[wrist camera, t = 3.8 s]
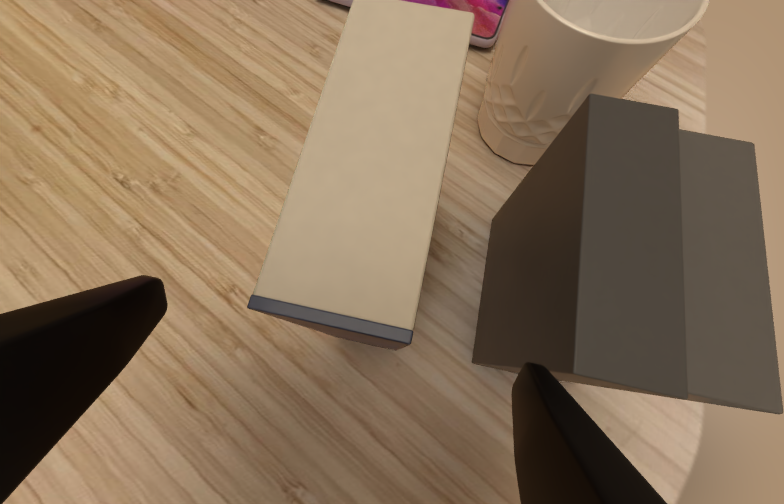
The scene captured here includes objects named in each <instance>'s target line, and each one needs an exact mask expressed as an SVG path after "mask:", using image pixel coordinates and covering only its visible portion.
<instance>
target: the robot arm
mask: <svg viewBox="0 0 784 504" xmlns="http://www.w3.org/2000/svg"><path fill="white" fill-rule="evenodd" d="M166 311H167V299H166V294H165V289H164V284H163V282H162V281H161V279H159V278H155V277H151V276H146V275H141V276H137V277H134V278H130V279H126V280H123V281H119V282H116V283H112V284H108V285H105V286H101V287H97V288H94V289H90V290H86V291H83V292H79V293H76V294H72V295H68V296H65V297H61V298H57V299H54V300H50V301H46V302H43V303H39V304H35V305H32V306H28V307H25V308H21V309H17V310H14V311H10V312H6V313H3V314H0V504H2V503H3V502H4V501H5V500H6V499H7V498H8V497H9V496H10V494H11V493H12V492H13V491H14V490H15V489H16V488H17V487H18V486H19V484H20V483H21V482H22V481H23V480H24V479H25V478H26V477H27V476H28V475H29V473H30V472H31V471H32V470H33V469H34V468H35V467H36V466H37V465H38V463H39V462H40V461H41V460H42V459H43V458H44V457H45V456H46V455H47V453H48V452H49V451H50V450H51V449H52V448H53V447H54V446H55V445H56V443H57V442H58V441H59V440H60V439H61V438H62V437H63V436H64V435H65V433H66V432H67V431H68V430H69V429H70V428H71V427H72V426H73V425H74V423H75V422H76V421H77V420H78V419H79V418H80V417H81V416H82V415H83V413H84V412H85V411H86V410H87V409H88V408H89V407H90V406H91V405H92V403H93V402H94V401H95V400H96V399H97V398H98V397H99V396H100V395H101V393H102V392H103V391H104V390H105V389H106V388H107V387H108V386H109V385H110V384H111V382H112V381H113V380H114V379H115V378H116V377H117V376H118V375H119V373H120V372H121V371H122V370H123V369H124V368H125V366H126V365H127V364H128V363H129V361H130V360H131V359H132V358H133V356H134V355H135V354H136V352H137V351H138V350H139V348H140V347H141V346H142V344H143V343H144V341H145V340H146V339H147V337H148V336H149V335H150V333H151V332H152V331H153V329H154V328H155V327H156V325H157V324H158V323H159V321H160V320H161V319H162V317H163V316H164V315H165V313H166ZM512 416H513V438H514V457H515V466H516V474H517V481H518V487H519V494H520V500H521V504H667V503H666V502H665V501H664V500H663V498H662V497H661V496H660V495H659V494H658V493H657V492H656V491H655V489H654V488H653V487H652V486H651V485H650V484H649V483H648V482H647V480H646V479H645V478H644V477H643V476H642V475H641V474H640V473H639V472H638V470H637V469H636V468H635V467H634V466H633V465H632V464H631V463H630V461H629V460H628V459H627V458H626V457H625V456H624V455H623V454H622V452H621V451H620V450H619V449H618V448H617V447H616V446H615V445H614V443H613V442H612V441H611V440H610V439H609V438H608V437H607V436H606V434H605V433H604V432H603V431H602V430H601V429H600V428H599V427H598V425H597V424H596V423H595V422H594V421H593V420H592V419H591V418H590V416H589V415H588V414H587V413H586V412H585V411H584V410H583V409H582V407H581V406H580V405H579V404H578V403H577V402H576V401H575V400H574V398H573V397H572V396H571V395H570V394H569V393H568V392H567V391H566V389H565V388H564V387H563V386H562V385H561V384H560V383H559V382H558V380H557V379H556V378H555V377H554V376H553V375H552V374H551V373H550V371H549V370H548V369H547V368H546V367H545V366H543V365H540V364H536V363H532V362H526V363H524V364H523V366H522V368H521V370H520V372H519V374H518V376H517V378H516V380H515V382H514V384H513V387H512Z"/></svg>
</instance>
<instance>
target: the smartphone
mask: <svg viewBox="0 0 784 504" xmlns="http://www.w3.org/2000/svg"><path fill="white" fill-rule="evenodd" d="M329 1H332V2H336V3H339V4H342V5H345V6H349V7H351V5H352V2H353V0H329ZM402 1H408V2H413V3H419V4H425V5H431V6H437V7H442V8H448V9H454V10H460V11H465V12H471V13H473V14H474V17H475V18H474V23H473V28H472V33H471V38H470V43H469V44H472V45H475V46H478V47H482V48H488V47H491V46H493V45H494V43H495V41H496V39H497V37H498V34H499V32H500V29H501V26H502V22H503V19H504V16H505V12H506V9H507V6H508V2H509V0H402Z"/></svg>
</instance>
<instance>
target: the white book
mask: <svg viewBox="0 0 784 504" xmlns="http://www.w3.org/2000/svg"><path fill="white" fill-rule="evenodd" d="M474 18H475V17H474V14H473V13H471V12H465V11H460V10H454V9H448V8H442V7H437V6H431V5H425V4H419V3H413V2H408V1H402V0H353V2H352V5H351V8H350V11H349V14H348V17H347V19H346V22H345V25H344V28H343V31H342V34H341V37H340V40H339V43H338V46H337V49H336V52H335V55H334V58H333V60H332V63H331V66H330V69H329V72H328V75H327V78H326V81H325V84H324V87H323V90H322V93H321V96H320V99H319V102H318V104H317V107H316V110H315V113H314V116H313V119H312V122H311V125H310V128H309V131H308V134H307V137H306V140H305V143H304V145H303V148H302V151H301V154H300V157H299V160H298V163H297V166H296V169H295V172H294V175H293V178H292V181H291V184H290V187H289V189H288V192H287V195H286V198H285V201H284V204H283V207H282V210H281V213H280V216H279V219H278V222H277V225H276V228H275V230H274V233H273V236H272V239H271V242H270V245H269V248H268V251H267V254H266V257H265V260H264V263H263V266H262V269H261V271H260V274H259V277H258V280H257V283H256V286H255V289H254V292H253V295H251V297H250V300H249V303H248V306H247V308H249V309H252V310H255V311H258V312H261V313H264V314H267V315H270V316H273V317H276V318H280V319H283V320H286V321H289V322H292V323H295V324H298V325H301V326H304V327H307V328H310V329H313V330H316V331H320V332H323V333H326V334H329V335H332V336H335V337H338V338H343V339H347V340H351V341H356V342H360V343H365V344H369V345H373V346H378V347H382V348H387V349H391V350H395V351H396V350H398V349H401V348H403V347H405V346H408V345H410V344H411V341H412V335H413V331H412V330H413V329H414V324H415V319H416V314H417V309H418V304H419V299H420V294H421V289H422V283H423V278H424V273H425V268H426V263H427V258H428V253H429V248H430V243H431V237H432V232H433V227H434V222H435V217H436V212H437V207H438V202H439V197H440V191H441V186H442V181H443V176H444V171H445V166H446V161H447V156H448V150H449V145H450V140H451V135H452V130H453V125H454V120H455V115H456V110H457V104H458V99H459V94H460V89H461V84H462V79H463V74H464V69H465V64H466V58H467V53H468V48H469V43H470V38H471V33H472V28H473V23H474Z"/></svg>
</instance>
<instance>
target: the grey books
mask: <svg viewBox="0 0 784 504" xmlns="http://www.w3.org/2000/svg"><path fill="white" fill-rule="evenodd" d="M757 175H758V174H757V165H756V156H755V147H754V144H753V143H751V142H745V141H740V140H735V139H729V138H724V137H718V136H712V135H707V134H702V133H697V132H691V131H686V130H681V129H679V116H678V109H674V108H669V107H663V106H658V105H652V104H647V103H641V102H636V101H630V100H625V99H619V98H614V97H608V96H603V95H597V94H592V93H591V94H589V95H588V96H587V98H586V99H585V100H584V102H583V103H582V104H581V106H580V107H579V108H578V109H577V111H576V112H575V113H574V115H573V116H572V117H571V118H570V120H569V121H568V122H567V124H566V125H565V126H564V127H563V129H562V130H561V131H560V133H559V134H558V135H557V137H556V138H555V139H554V140H553V142H552V143H551V144H550V146H549V147H548V148H547V149H546V151H545V152H544V153H543V155H542V156H541V157H540V158H539V160H538V161H537V162H536V164H535V165H534V166H533V167H532V169H531V170H530V171H529V173H528V174H527V175H526V177H525V178H524V179H523V180H522V182H521V183H520V184H519V186H518V187H517V188H516V189H515V191H514V192H513V193H512V195H511V196H510V197H509V198H508V200H507V201H506V202H505V204H504V205H503V206H502V207H501V209H500V210H499V211H498V213H497V214H496V215H495V217H494V218H493V219H492V224H491V231H490V238H489V245H488V252H487V259H486V266H485V273H484V280H483V287H482V294H481V301H480V308H479V316H478V323H477V330H476V337H475V344H474V351H473V358H472V363H474V364H478V365H483V366H487V367H491V368H496V369H500V370H505V371H509V372H514V373H518V374H519V372H520V370H521V368H522V366H523V364H524V363H526V362H532V363H536V364H540V365H543V366H545V367H546V368H547V369H548V370H549V371H550V373H551V374H552V375H553V376H554V377H555V378H556V379H557V380H561V381H568V382H574V383H580V384H587V385H593V386H600V387H606V388H612V389H619V390H625V391H632V392H638V393H645V394H651V395H658V396H664V397H670V398H677V399H683V400H690V401H696V402H703V403H709V404H716V405H722V406H728V407H735V408H742V409H748V410H754V411H761V412H768V413H774V414H782V413H783V405H782V396H781V387H780V377H779V370H778V369H779V368H778V360H777V350H776V341H775V331H774V322H773V313H772V304H771V294H770V286H769V276H768V267H767V258H766V249H765V240H764V230H763V221H762V211H761V202H760V194H759V184H758V176H757Z"/></svg>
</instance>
